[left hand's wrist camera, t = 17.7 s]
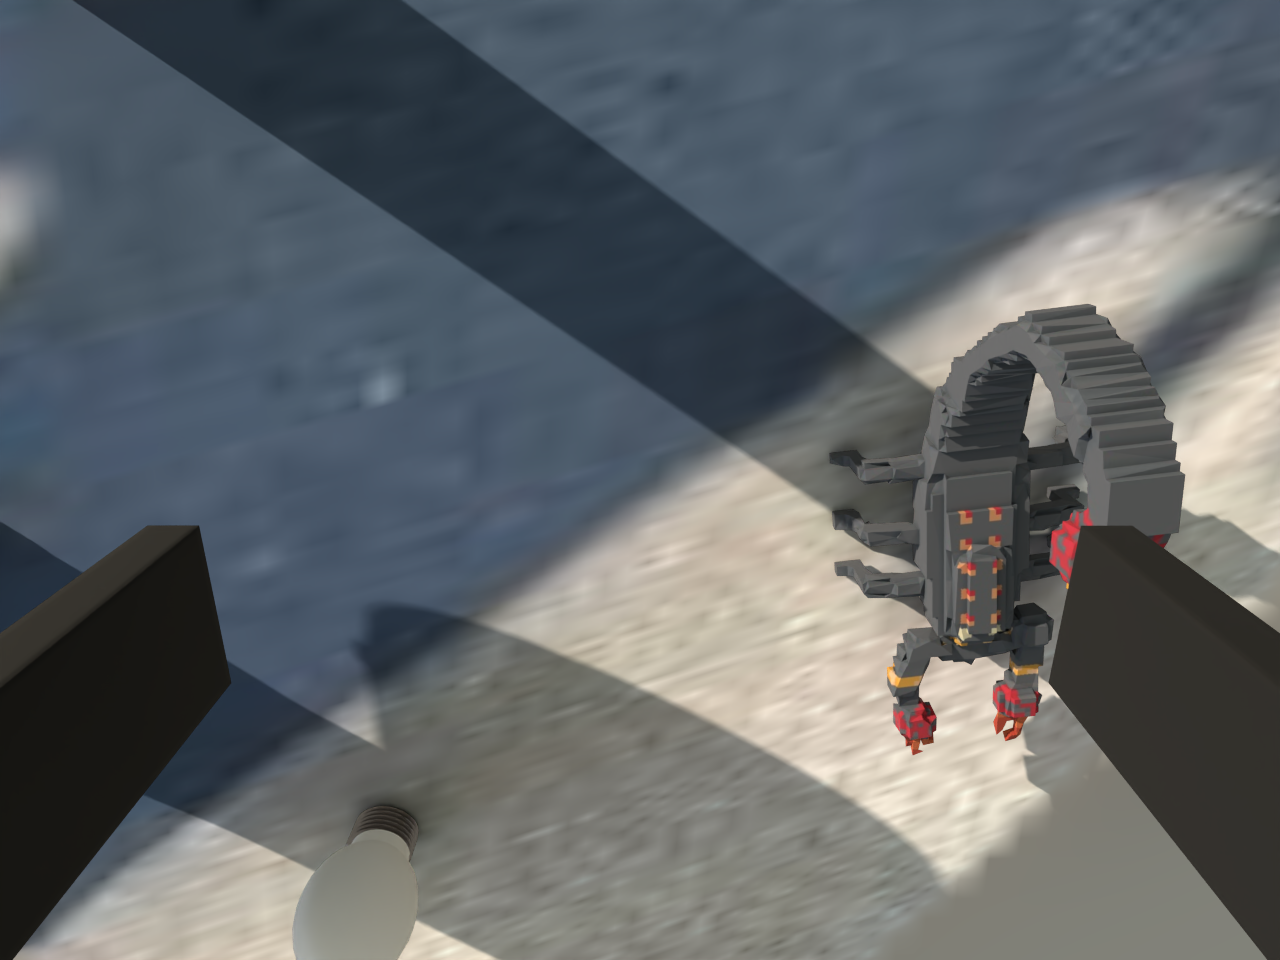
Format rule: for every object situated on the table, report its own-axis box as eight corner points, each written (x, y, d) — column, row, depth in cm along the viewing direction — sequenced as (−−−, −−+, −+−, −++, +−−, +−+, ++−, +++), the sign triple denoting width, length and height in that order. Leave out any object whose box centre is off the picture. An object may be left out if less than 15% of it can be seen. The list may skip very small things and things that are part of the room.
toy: (1089, 253, 42) (1401, 314, 25) (1059, 698, 51) (1271, 966, 34) (822, 286, 42) (946, 369, 25) (841, 720, 52) (941, 995, 35)
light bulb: (326, 848, 55) (254, 1004, 45) (353, 772, 53) (285, 918, 43) (423, 878, 56) (375, 1037, 46) (454, 804, 54) (411, 955, 44)
